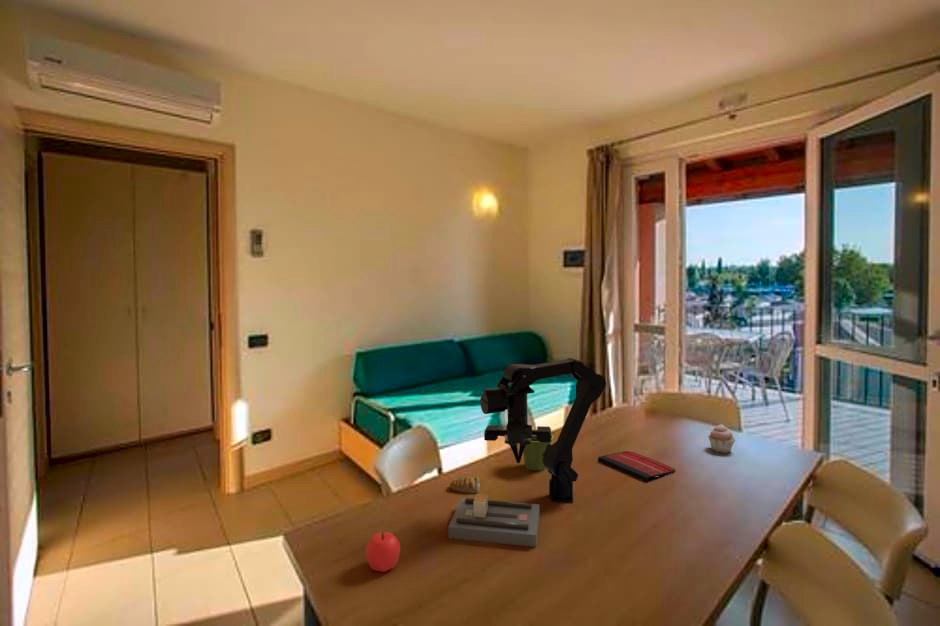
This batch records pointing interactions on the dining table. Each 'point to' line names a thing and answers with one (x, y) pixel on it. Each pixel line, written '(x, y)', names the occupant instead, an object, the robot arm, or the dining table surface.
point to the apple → (383, 551)
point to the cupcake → (721, 439)
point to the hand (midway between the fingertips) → (518, 462)
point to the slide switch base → (496, 523)
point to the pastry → (466, 485)
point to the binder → (636, 465)
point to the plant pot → (535, 454)
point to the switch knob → (480, 505)
